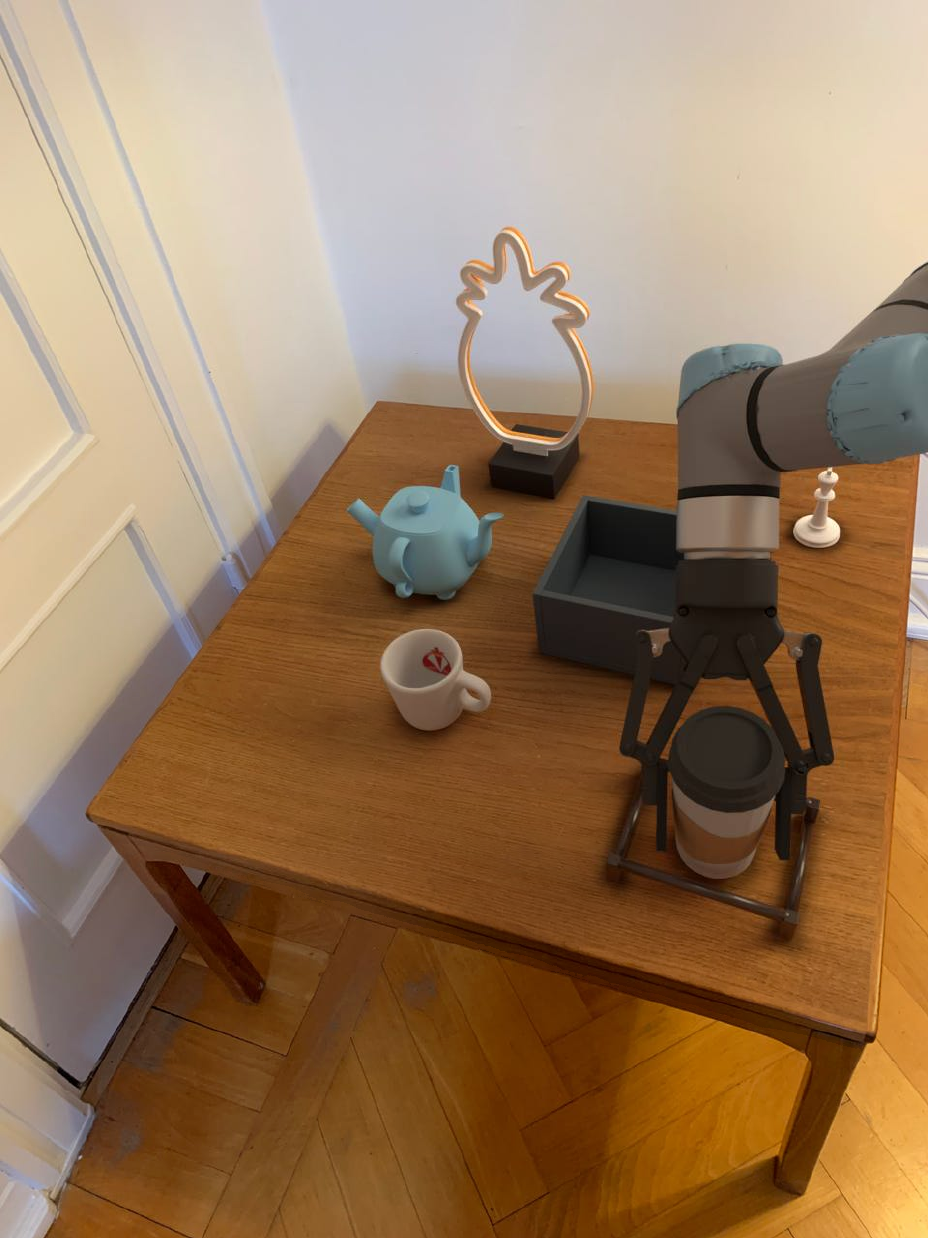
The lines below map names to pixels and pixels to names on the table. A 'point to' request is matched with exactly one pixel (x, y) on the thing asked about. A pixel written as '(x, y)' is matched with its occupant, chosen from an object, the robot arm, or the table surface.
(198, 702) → the table surface
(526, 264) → the lamp
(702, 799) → the coffee cup
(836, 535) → the chess piece
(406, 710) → the cup
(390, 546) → the teapot
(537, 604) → the grey open box
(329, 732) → the table surface
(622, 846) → the rectangular rod frame
